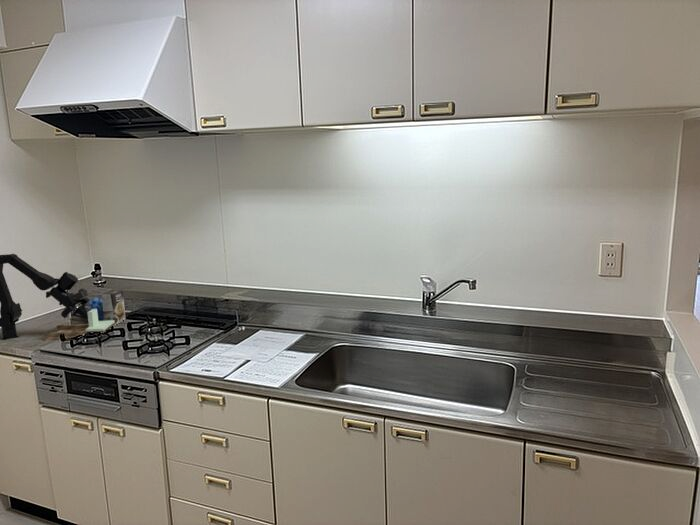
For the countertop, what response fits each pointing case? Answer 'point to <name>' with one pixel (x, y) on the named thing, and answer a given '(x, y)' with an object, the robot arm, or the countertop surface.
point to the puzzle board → (70, 331)
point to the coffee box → (113, 306)
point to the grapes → (97, 307)
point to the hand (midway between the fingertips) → (90, 318)
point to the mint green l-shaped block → (97, 322)
